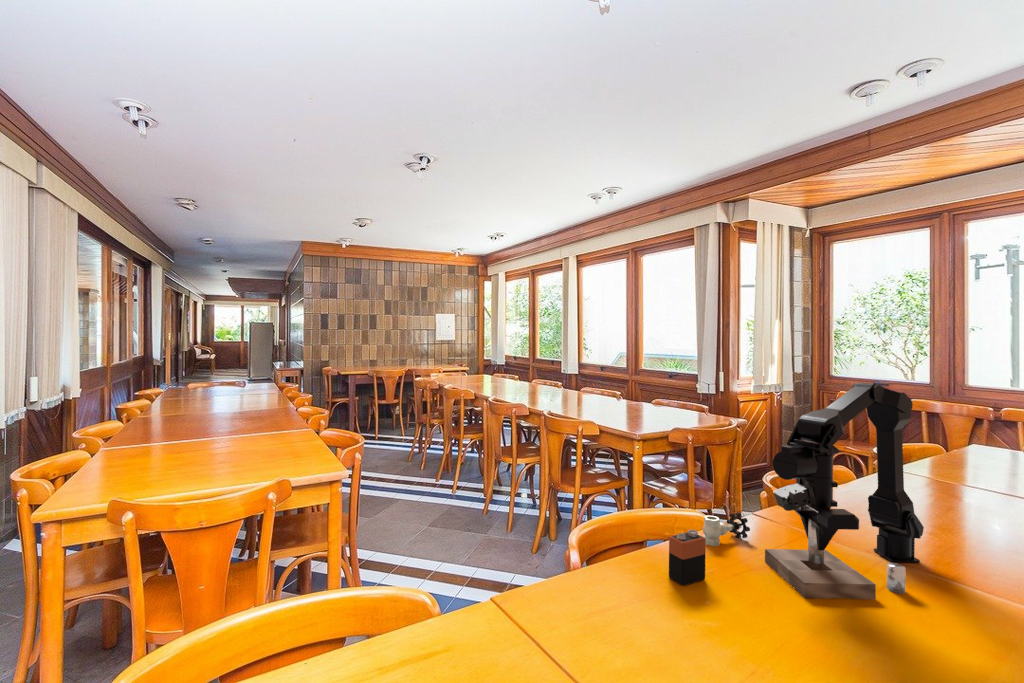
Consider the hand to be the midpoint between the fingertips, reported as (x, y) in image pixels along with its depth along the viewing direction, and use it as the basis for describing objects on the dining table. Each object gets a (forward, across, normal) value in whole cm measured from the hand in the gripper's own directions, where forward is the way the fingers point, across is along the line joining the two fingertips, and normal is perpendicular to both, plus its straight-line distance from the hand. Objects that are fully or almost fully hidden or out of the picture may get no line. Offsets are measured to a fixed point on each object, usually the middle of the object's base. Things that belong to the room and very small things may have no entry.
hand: (816, 546), depth 106 cm
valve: (+7, -20, -12) cm, 24 cm away
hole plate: (+7, 0, 0) cm, 7 cm away
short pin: (+7, +4, +14) cm, 16 cm away
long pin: (+3, 0, 0) cm, 3 cm away
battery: (+7, +1, -28) cm, 29 cm away
